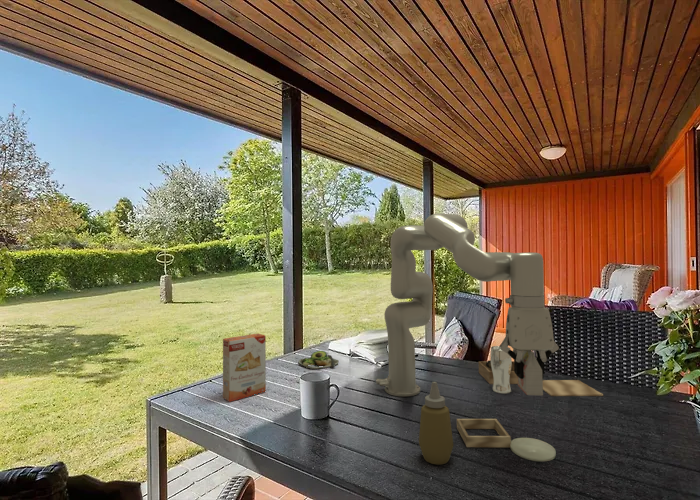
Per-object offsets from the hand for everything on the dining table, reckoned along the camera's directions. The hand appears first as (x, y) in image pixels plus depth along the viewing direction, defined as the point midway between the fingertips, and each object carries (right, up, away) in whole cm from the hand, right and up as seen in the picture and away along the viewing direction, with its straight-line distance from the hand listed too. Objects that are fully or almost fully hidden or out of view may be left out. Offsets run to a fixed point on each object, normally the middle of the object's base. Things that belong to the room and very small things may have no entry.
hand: (529, 376), depth 94 cm
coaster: (0, -18, 0) cm, 18 cm away
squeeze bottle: (-24, -19, -3) cm, 30 cm away
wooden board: (+33, -18, +42) cm, 56 cm away
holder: (-9, -18, +7) cm, 22 cm away
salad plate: (-58, -22, +81) cm, 102 cm away
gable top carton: (0, -4, 0) cm, 4 cm away
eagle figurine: (+14, -19, +55) cm, 60 cm away
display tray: (+15, -19, +55) cm, 60 cm away
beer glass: (+10, -19, +41) cm, 46 cm away
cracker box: (-81, -21, +42) cm, 94 cm away
